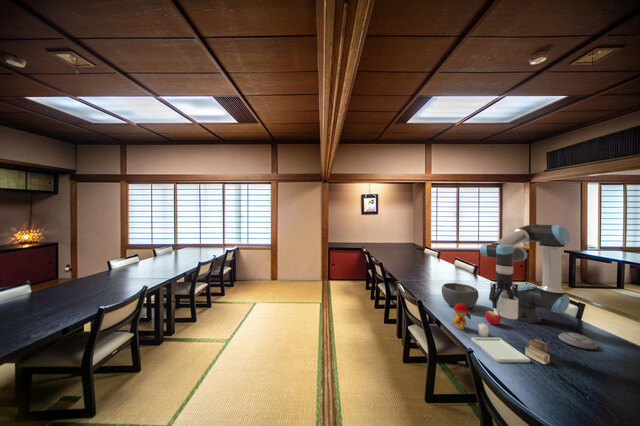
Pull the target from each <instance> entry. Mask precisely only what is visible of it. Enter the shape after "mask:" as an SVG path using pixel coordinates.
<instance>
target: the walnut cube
mask: <svg viewBox="0 0 640 426" xmlns="http://www.w3.org/2000/svg"><path fill="white" fill-rule="evenodd" d="M529 346H531V347H534V348H536V349H538V350H540V351H542V352H544V353H547V354H548V343H546V342H543V341H542V340H540V339H535V338H534V339H531V340H529V345H528V347H529Z"/></svg>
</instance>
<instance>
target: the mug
mask: <svg viewBox="0 0 640 426" xmlns="http://www.w3.org/2000/svg"><path fill="white" fill-rule="evenodd" d="M514 299H515V300H512V299H509V297H508V294H501V295H500V297H499V299H498V301H499V314H500V315H501V318H502V317H503V318H505V319H509V320H518V298H516V297H514ZM490 302H491V305H492V306H493V302H492V301H490Z"/></svg>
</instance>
